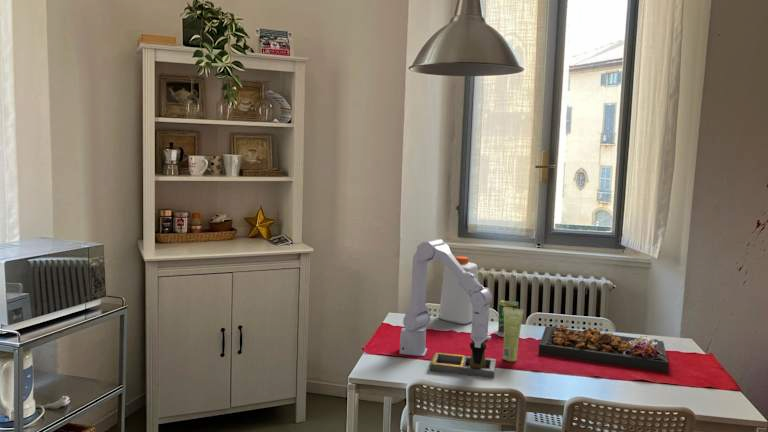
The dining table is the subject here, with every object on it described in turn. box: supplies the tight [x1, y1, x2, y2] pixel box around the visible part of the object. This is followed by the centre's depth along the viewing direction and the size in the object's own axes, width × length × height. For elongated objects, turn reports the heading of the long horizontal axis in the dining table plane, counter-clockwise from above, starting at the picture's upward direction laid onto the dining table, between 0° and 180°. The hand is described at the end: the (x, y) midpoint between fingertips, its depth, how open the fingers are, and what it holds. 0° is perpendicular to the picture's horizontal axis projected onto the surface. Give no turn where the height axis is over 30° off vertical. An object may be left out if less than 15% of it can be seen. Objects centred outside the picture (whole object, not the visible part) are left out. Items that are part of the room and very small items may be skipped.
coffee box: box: [497, 299, 519, 333], centre depth 261 cm, size 8×3×13 cm, turn 70°
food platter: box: [538, 325, 669, 373], centre depth 240 cm, size 45×25×10 cm, turn 70°
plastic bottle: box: [438, 255, 479, 325], centre depth 277 cm, size 15×15×28 cm
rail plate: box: [429, 352, 497, 379], centre depth 220 cm, size 22×12×3 cm, turn 77°
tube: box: [502, 307, 525, 362], centre depth 229 cm, size 6×5×20 cm
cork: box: [468, 340, 487, 369], centre depth 218 cm, size 6×6×11 cm
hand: (477, 360), depth 218 cm, fingers closed on cork, 5 cm apart
